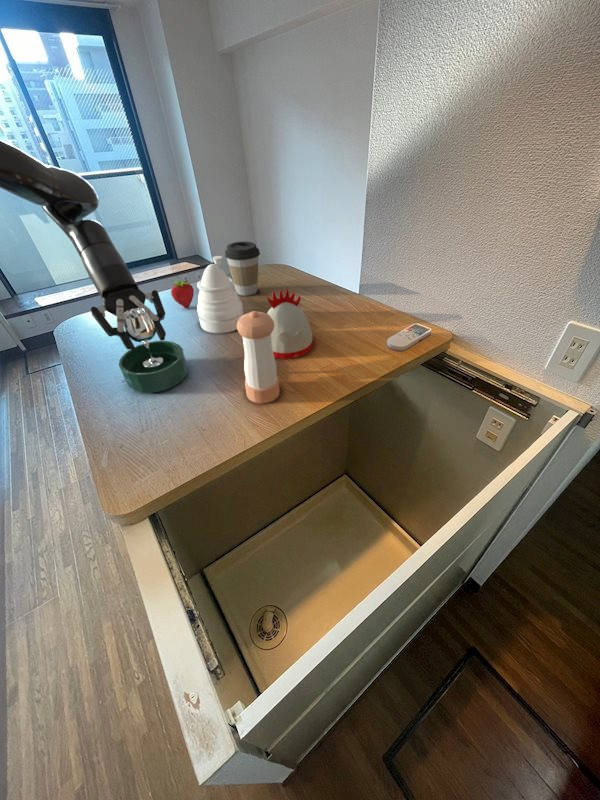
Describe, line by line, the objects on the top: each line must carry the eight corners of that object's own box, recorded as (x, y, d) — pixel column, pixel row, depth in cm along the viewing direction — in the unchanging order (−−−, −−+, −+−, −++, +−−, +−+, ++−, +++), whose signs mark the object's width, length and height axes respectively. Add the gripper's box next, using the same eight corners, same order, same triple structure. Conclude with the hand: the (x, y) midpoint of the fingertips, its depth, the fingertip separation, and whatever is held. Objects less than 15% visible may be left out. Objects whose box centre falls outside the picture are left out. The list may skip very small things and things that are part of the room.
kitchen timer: (256, 334, 91) (250, 281, 81) (304, 328, 93) (304, 275, 83) (265, 362, 80) (259, 305, 71) (318, 354, 83) (320, 297, 73)
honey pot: (228, 308, 103) (218, 248, 91) (253, 322, 96) (245, 258, 84) (192, 322, 96) (176, 259, 85) (216, 338, 89) (202, 271, 78)
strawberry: (171, 311, 102) (162, 279, 96) (187, 301, 107) (179, 271, 101) (186, 314, 100) (177, 282, 94) (201, 305, 105) (194, 273, 99)
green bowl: (118, 395, 71) (108, 375, 68) (139, 360, 82) (132, 341, 78) (180, 394, 72) (173, 374, 68) (194, 359, 82) (189, 340, 78)
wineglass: (134, 366, 73) (113, 317, 65) (150, 353, 77) (132, 305, 69) (156, 371, 71) (137, 321, 63) (171, 356, 75) (155, 308, 67)
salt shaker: (248, 406, 68) (235, 323, 56) (244, 385, 74) (232, 305, 61) (282, 400, 70) (277, 318, 57) (276, 380, 75) (270, 301, 62)
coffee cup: (268, 287, 115) (265, 242, 105) (253, 300, 107) (248, 253, 97) (240, 283, 118) (235, 239, 109) (224, 295, 111) (216, 248, 101)
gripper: (68, 271, 62) (112, 351, 63) (143, 255, 69) (182, 327, 70) (74, 290, 68) (114, 362, 69) (142, 273, 75) (178, 338, 76)
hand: (148, 344), depth 69 cm, fingers closed on wineglass, 6 cm apart
